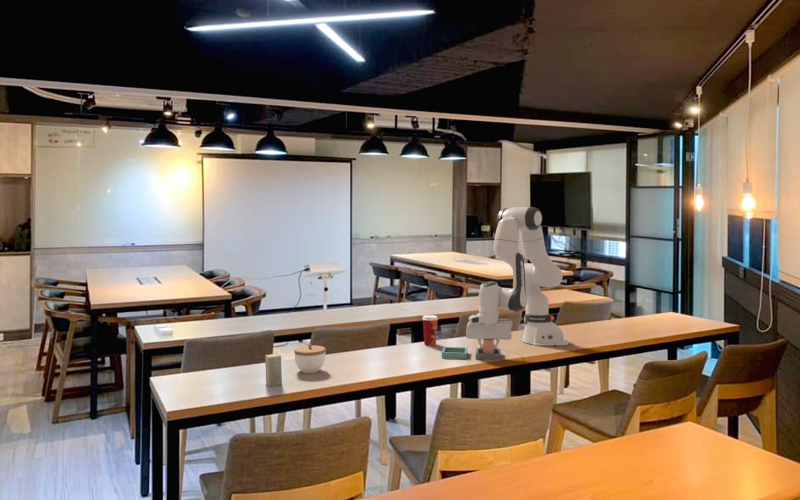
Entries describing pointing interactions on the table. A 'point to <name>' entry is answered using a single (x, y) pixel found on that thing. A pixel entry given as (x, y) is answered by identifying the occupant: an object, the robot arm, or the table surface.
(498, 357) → the bin
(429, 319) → the paper cup
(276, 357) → the box
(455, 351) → the bin
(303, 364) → the lidded bowl
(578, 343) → the table surface
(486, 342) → the block
